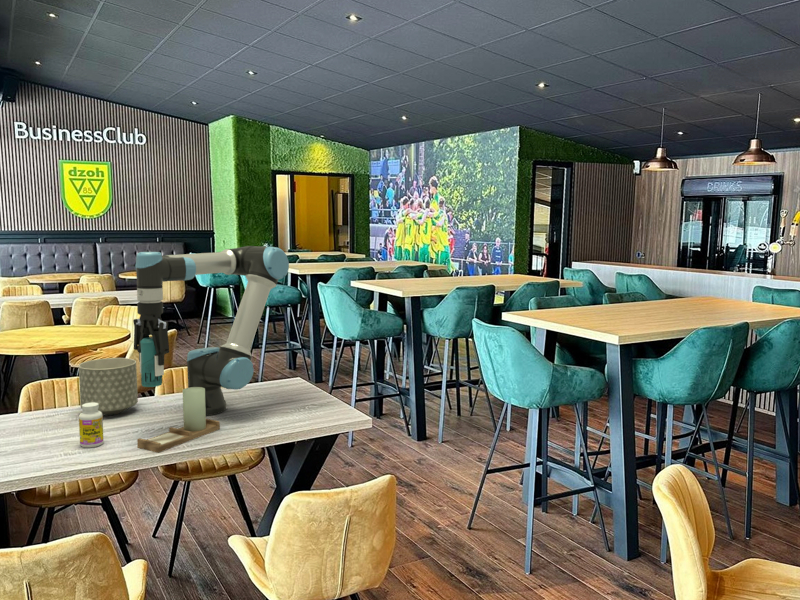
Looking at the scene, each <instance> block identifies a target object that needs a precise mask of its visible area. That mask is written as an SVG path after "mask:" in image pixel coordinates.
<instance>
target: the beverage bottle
mask: <svg viewBox="0 0 800 600" xmlns="http://www.w3.org/2000/svg"><path fill="white" fill-rule="evenodd" d="M144 334H150V331H149V328H144ZM150 335H151V334H150ZM140 343H141V373H140V384H141V386H142V387H144V388H153V387H155V388H156V387H159V386H162V385H163V376H164V375H161V376H155V354H156V350H155V346H154V342H153V338H152V336H149V337H145V338H143V339H142V340H141V341H140Z"/></svg>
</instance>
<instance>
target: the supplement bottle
mask: <svg viewBox="0 0 800 600" xmlns="http://www.w3.org/2000/svg"><path fill="white" fill-rule="evenodd" d="M98 408H99V404H98V403H95V402H92V403H85V404H83V405H82V409H81V410H82V412H81V413H80V414H79V416H78V427H79V429H78V430H79V431H78V432H79V445H80V446H81V447H83V448H97V447H99V446H101V445H103V443H104V420H103V419H104V415H102V412H101V411H98Z"/></svg>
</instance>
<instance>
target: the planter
mask: <svg viewBox="0 0 800 600" xmlns="http://www.w3.org/2000/svg"><path fill="white" fill-rule="evenodd" d="M137 373H138V372H137V361H136V359H133V358H128V357H108V358H97V359H90V360H86V361H83V362H81V363H79V365H78V381H79V383H78V385H79V396H80V397H79V402H80V403H79V404H80V409H81V410H82V405H83V404H85V403H92V402H95V403H98V404H99V408H98V411H101V412H102V416H112V415H113V414H114V415H118V414H120V413H123V412H124V411H126V410H128V409H129V408H131V407H134V406H136V405H137V404H138V401H139V398H138V377H137V375H138V374H137ZM114 415H113V416H114Z"/></svg>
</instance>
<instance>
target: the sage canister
mask: <svg viewBox="0 0 800 600" xmlns="http://www.w3.org/2000/svg"><path fill="white" fill-rule="evenodd" d="M182 411H183V412H182V415H183V427H184V430H187V431H191V432H194V431H201V430H204V429H205V428H206V419H207V417H206V416H207V415H206V409H205V388H202V387H190V388H188V387H187V388H183V389H182Z"/></svg>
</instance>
